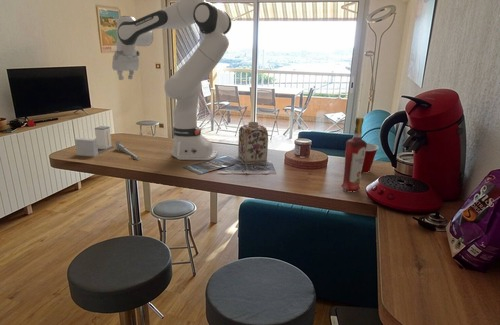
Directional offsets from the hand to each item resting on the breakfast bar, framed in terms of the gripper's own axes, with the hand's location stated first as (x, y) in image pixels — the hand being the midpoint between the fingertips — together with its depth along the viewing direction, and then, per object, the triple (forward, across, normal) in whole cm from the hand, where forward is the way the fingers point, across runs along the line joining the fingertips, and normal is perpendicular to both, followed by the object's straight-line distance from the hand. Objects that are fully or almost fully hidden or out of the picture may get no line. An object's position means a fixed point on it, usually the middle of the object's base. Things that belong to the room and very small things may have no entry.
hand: (125, 79), depth 167 cm
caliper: (+35, -17, -10) cm, 40 cm away
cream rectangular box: (+35, -11, +6) cm, 37 cm away
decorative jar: (+29, -7, -70) cm, 77 cm away
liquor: (+26, -40, -113) cm, 122 cm away
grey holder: (+36, -16, +6) cm, 40 cm away
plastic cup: (+24, -15, -122) cm, 125 cm away
